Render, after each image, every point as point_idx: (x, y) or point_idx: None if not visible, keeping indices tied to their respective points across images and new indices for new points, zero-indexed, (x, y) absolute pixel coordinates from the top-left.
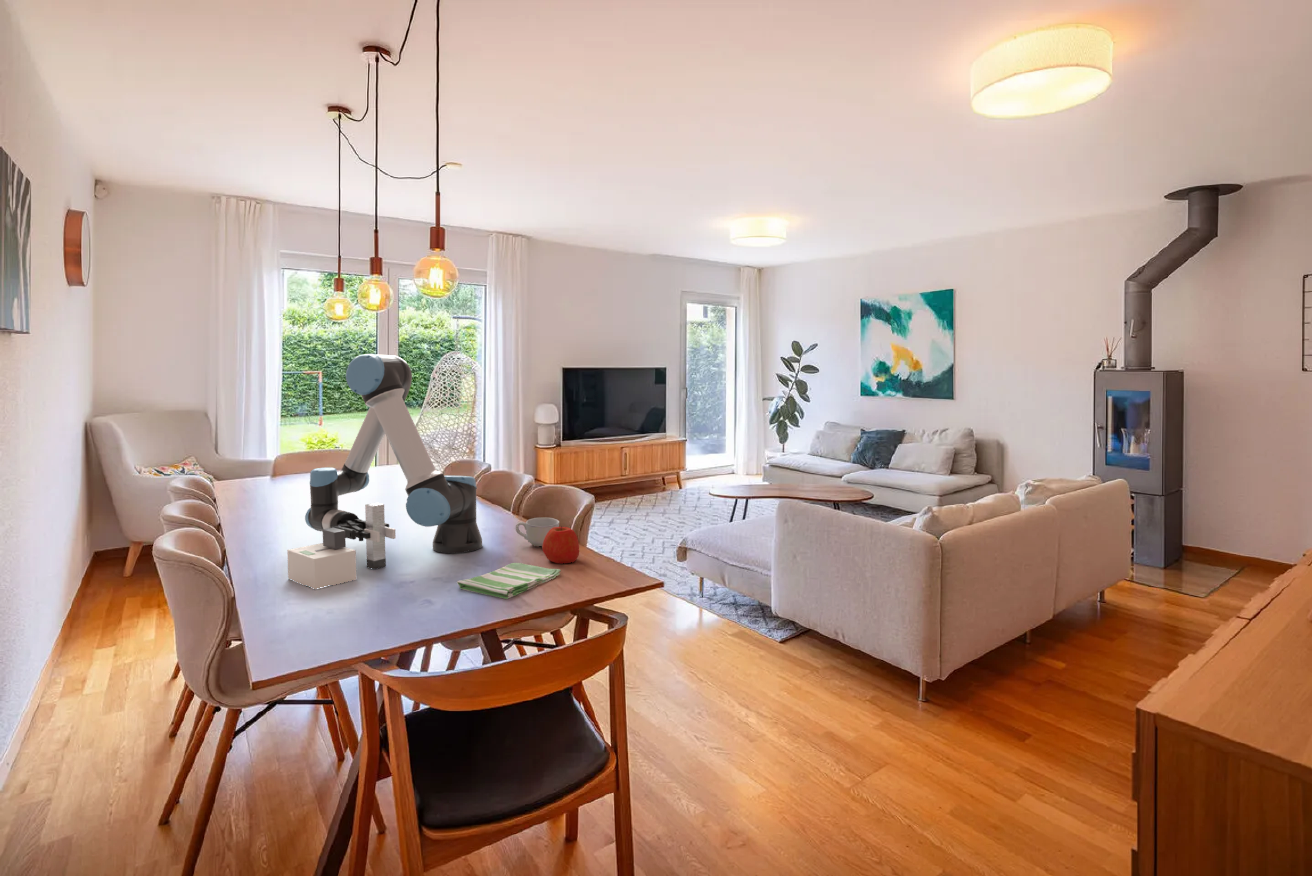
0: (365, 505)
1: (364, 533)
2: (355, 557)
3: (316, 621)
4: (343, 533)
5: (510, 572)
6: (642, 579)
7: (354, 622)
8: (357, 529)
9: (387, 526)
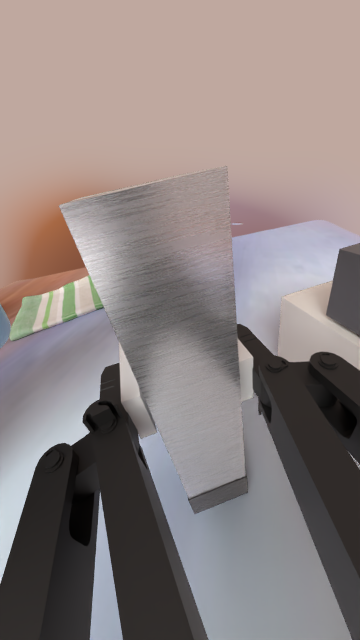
0: (225, 178)
1: (251, 333)
2: (280, 315)
3: (309, 255)
4: (344, 258)
5: (50, 314)
6: (11, 284)
7: (266, 253)
8: (302, 382)
9: (73, 445)
